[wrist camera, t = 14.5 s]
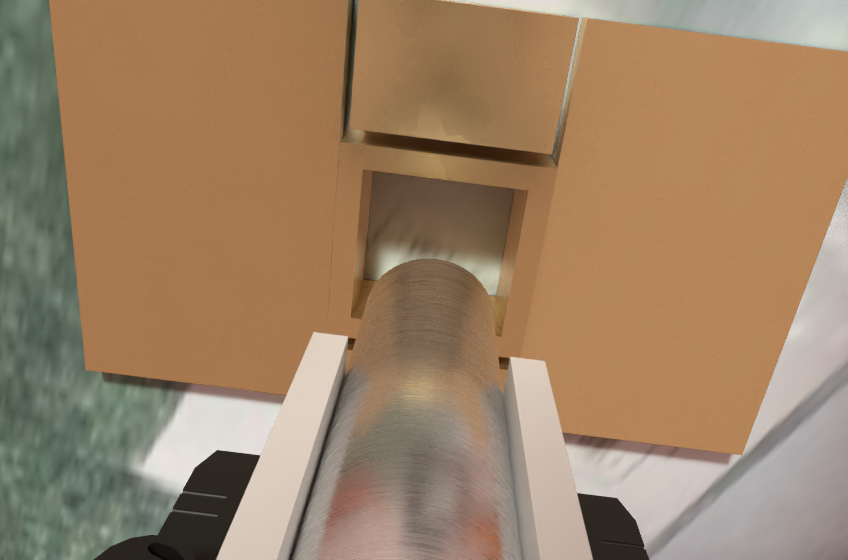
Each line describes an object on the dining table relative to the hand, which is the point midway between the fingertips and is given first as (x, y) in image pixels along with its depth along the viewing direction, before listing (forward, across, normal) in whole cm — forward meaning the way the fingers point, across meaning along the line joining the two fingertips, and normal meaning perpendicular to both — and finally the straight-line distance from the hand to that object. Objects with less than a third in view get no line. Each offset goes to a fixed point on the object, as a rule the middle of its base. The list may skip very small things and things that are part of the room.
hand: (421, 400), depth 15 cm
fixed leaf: (+12, -5, 0) cm, 13 cm away
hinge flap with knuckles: (+12, +5, 0) cm, 13 cm away
